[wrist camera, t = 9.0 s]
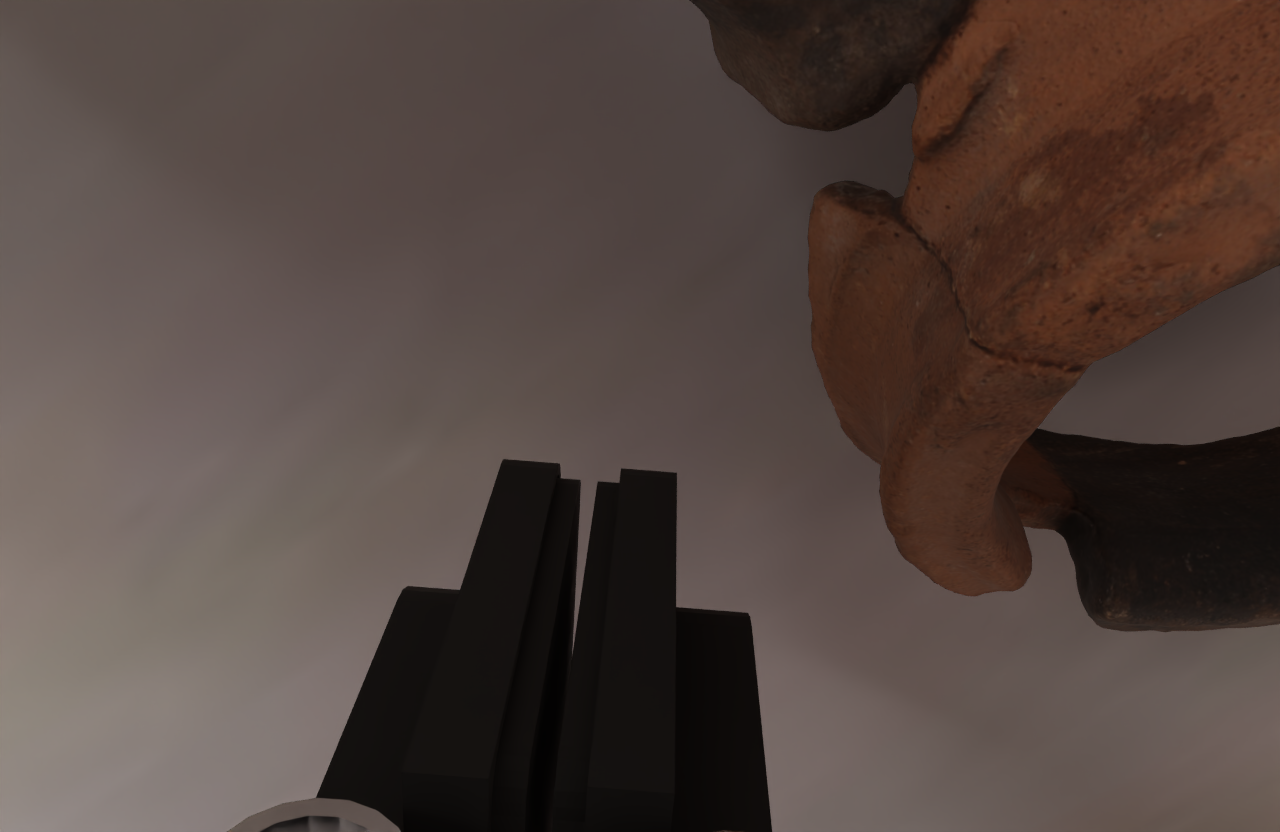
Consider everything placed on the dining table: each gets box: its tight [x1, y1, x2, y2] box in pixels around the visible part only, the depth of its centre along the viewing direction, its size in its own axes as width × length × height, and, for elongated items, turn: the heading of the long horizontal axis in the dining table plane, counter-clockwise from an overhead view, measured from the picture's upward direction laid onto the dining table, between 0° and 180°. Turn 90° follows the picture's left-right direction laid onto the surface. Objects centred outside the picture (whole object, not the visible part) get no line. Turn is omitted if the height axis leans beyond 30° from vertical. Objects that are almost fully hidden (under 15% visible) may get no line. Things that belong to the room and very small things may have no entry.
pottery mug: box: [689, 0, 1280, 632], centre depth 9 cm, size 12×10×8 cm
